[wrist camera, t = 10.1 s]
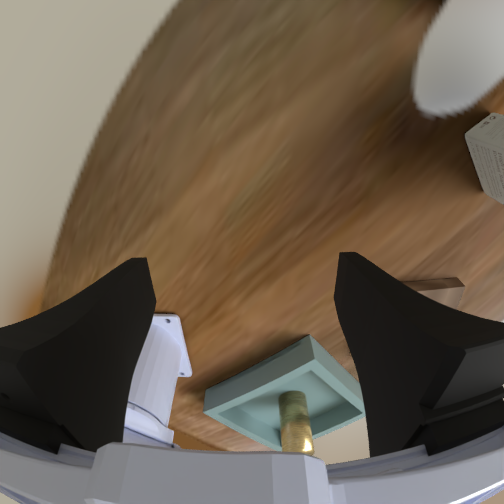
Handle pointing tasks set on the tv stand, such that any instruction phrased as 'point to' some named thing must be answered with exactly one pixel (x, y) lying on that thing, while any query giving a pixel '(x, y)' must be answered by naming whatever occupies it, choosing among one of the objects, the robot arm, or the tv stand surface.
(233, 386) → the tray
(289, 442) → the pin
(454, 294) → the collar
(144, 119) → the tv stand surface
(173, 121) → the tv stand surface
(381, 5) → the tv stand surface
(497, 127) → the skincare box
